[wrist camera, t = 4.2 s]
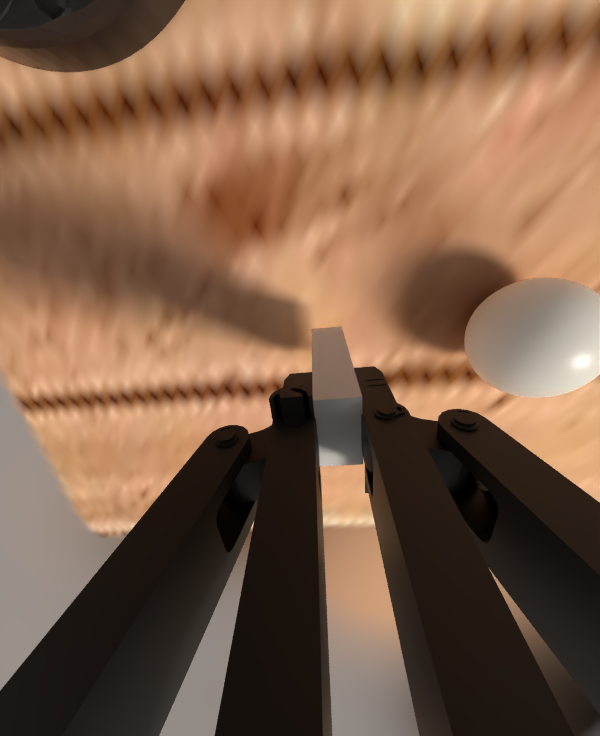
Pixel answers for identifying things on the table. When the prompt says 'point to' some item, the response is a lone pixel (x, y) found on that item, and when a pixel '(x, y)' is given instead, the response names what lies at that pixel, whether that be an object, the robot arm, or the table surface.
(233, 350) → the table surface
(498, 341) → the white ball
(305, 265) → the table surface
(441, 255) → the table surface
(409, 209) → the table surface
